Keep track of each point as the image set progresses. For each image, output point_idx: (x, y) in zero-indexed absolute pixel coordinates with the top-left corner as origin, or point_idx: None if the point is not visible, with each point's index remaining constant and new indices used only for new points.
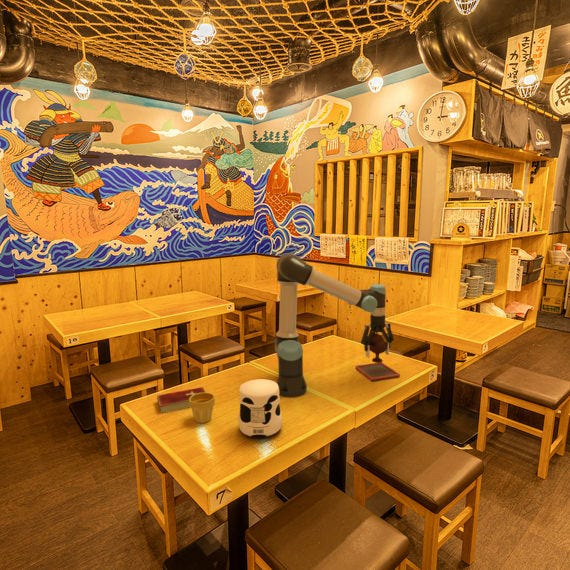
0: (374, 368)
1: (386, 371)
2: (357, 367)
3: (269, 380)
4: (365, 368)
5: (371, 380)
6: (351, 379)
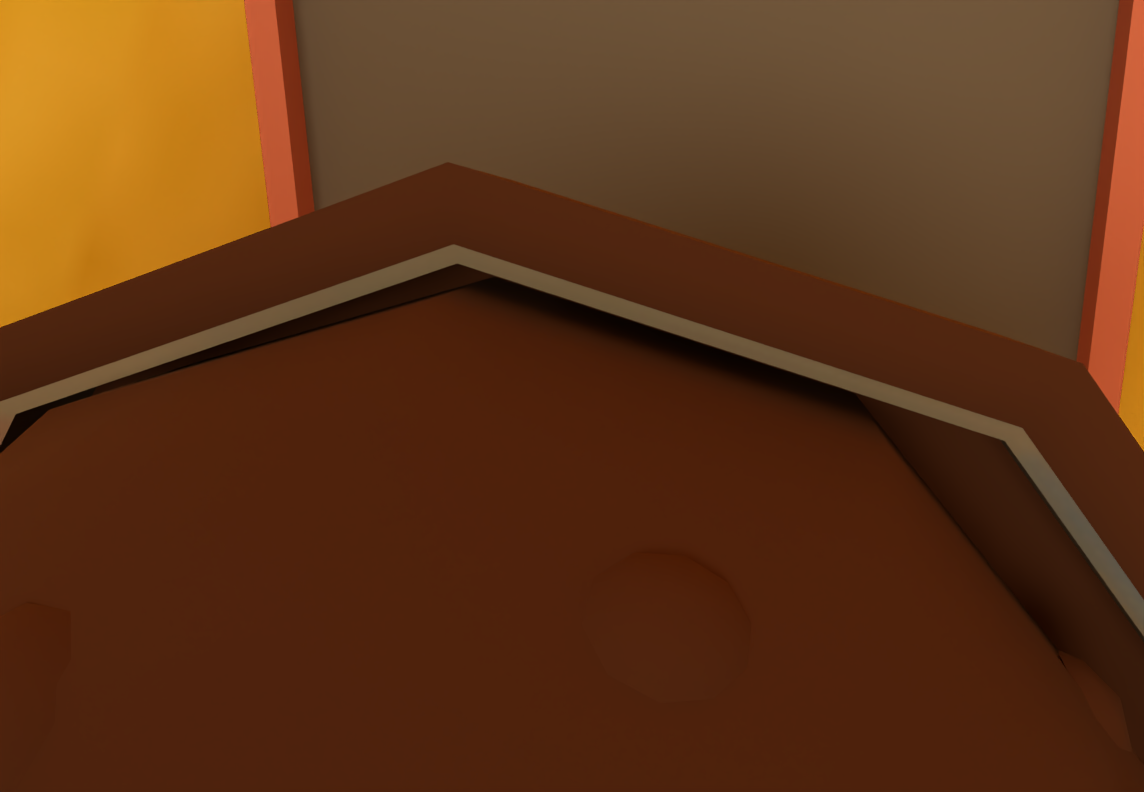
0: (718, 162)
1: None
2: (247, 26)
3: None
4: (479, 77)
5: None
6: None
